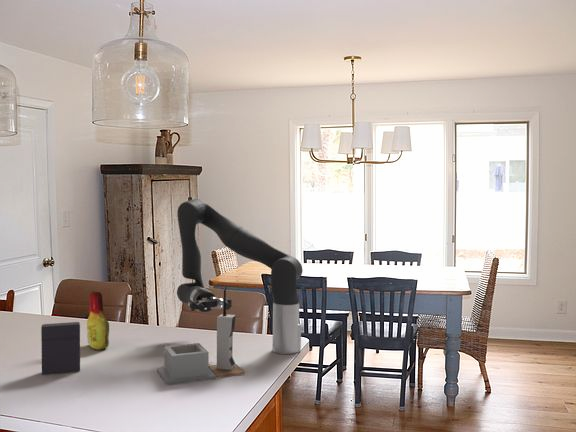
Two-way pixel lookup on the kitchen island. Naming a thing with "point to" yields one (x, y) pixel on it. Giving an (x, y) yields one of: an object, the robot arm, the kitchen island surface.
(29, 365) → the kitchen island surface
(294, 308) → the robot arm
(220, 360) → the vintage mobile phone
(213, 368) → the walnut pad
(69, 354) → the calculator
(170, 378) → the box
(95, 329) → the bottle
